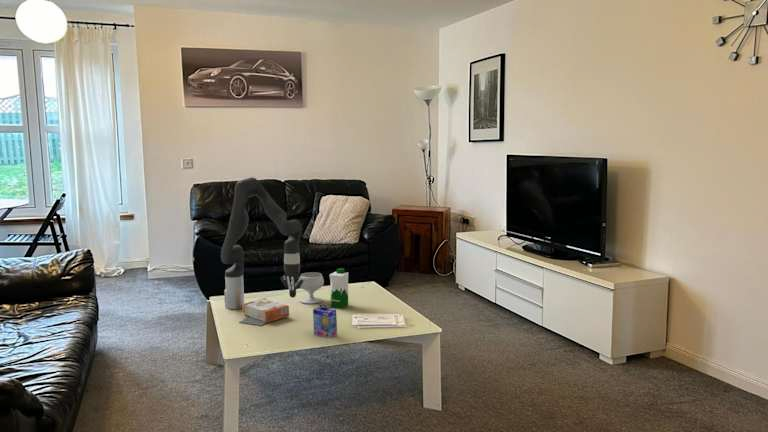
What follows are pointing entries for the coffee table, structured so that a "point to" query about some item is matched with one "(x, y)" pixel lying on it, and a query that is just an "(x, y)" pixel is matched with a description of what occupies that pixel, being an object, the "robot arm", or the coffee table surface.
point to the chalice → (312, 286)
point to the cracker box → (265, 310)
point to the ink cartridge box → (325, 321)
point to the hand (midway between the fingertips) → (292, 297)
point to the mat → (253, 321)
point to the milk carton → (339, 289)
